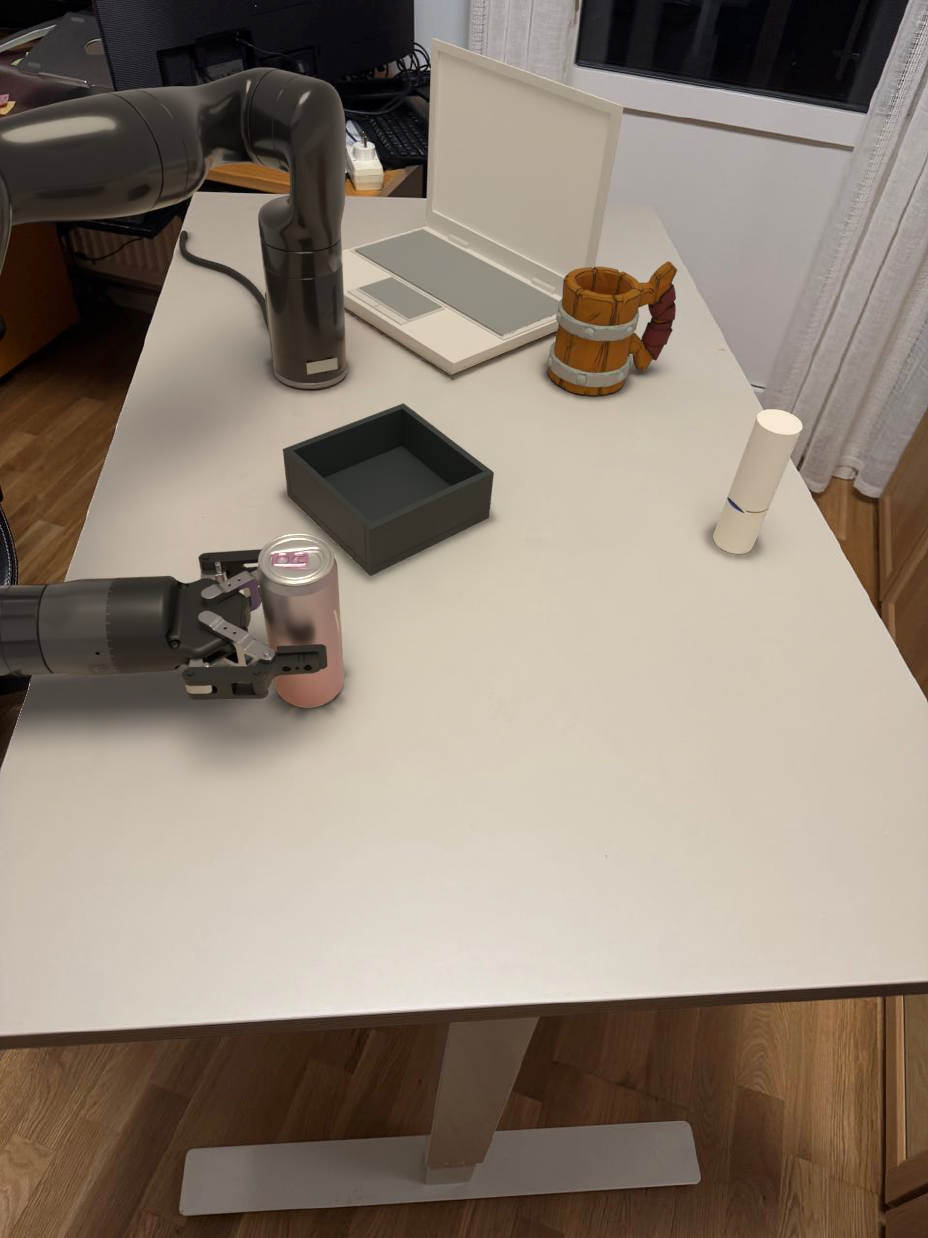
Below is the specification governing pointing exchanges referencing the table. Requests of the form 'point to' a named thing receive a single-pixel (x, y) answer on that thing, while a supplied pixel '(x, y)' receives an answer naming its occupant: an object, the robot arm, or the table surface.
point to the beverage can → (303, 612)
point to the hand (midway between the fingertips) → (326, 616)
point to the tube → (756, 480)
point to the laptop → (491, 213)
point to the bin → (387, 486)
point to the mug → (609, 327)
